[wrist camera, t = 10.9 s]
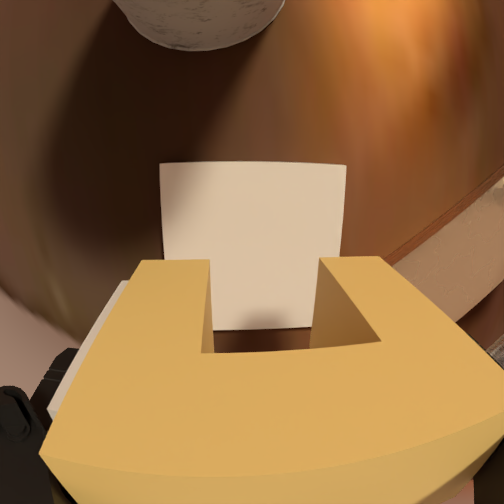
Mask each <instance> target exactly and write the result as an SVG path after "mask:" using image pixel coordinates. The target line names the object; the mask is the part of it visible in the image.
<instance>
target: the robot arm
mask: <svg viewBox="0 0 504 504" xmlns="http://www.w3.org/2000/svg"><path fill="white" fill-rule="evenodd" d="M128 282H129V281H121V283H120V284H119V286H118V287H117V289H116V291H115V292H114V294H113V295H112V297H111V298H110V300H109V301H108V303H107V305H106V306H105V308H104V309H103V311H102V313H101V314H100V316H99V317H98V319H97V321H96V322H95V324H94V326H93V327H92V329H91V331H90V332H89V334H88V336H87V337H86V339H85V341H84V342H83V344H82V346H81V347H80V349H75V348H67V349H66V350H64V351H63V352H62V353H61V354H59V355H58V356H57V357H56V358H55V360H54V361H53V363H52V364H51V366H50V367H49V370H48V371H47V372H46V374H45V375H44V379H43V380H41V382H40V384H39V386H38V387H37V389H36V390H35V392H34V394H33V396H32V397H31V399H30V401H29V399H28V397H27V395H26V394H25V392H24V391H23V390H21V388H18V387H15V386H2V387H0V504H78V503H77V502H76V501H75V500H74V498H73V497H72V496H71V495H70V494H69V493H68V491H67V490H66V489H65V488H64V486H63V485H62V484H61V483H60V482H59V480H58V479H57V478H56V476H55V475H54V474H53V473H52V471H51V470H50V469H49V467H48V466H47V464H46V463H45V462H44V460H43V459H42V458H41V456H40V455H39V451H40V449H41V447H42V444H43V442H44V440H45V438H46V435H47V433H48V431H49V429H50V427H51V424H52V422H53V420H54V418H55V416H56V414H57V412H58V409H59V407H60V405H61V403H62V401H63V399H64V397H65V395H66V393H67V391H68V389H69V387H70V385H71V383H72V381H73V379H74V377H75V375H76V373H77V371H78V370H79V368H80V366H81V364H82V362H83V360H84V358H85V356H86V354H87V353H88V351H89V349H90V347H91V345H92V343H93V342H94V340H95V338H96V336H97V334H98V333H99V331H100V329H101V327H102V326H103V324H104V322H105V320H106V319H107V317H108V315H109V313H110V312H111V310H112V308H113V307H114V305H115V303H116V302H117V300H118V298H119V297H120V295H121V293H122V292H123V290H124V288H125V287H126V285H127V283H128ZM466 334H467V333H466ZM467 335H468V336H469V337H470V338H472V339H473V340H474V341H475V342H476V343H477V344H478V345H479V343H478V342H477V341H476V340H475V339H474V338H473V337H471V336H470V335H469V334H467ZM479 346H480V347H481V348H482V349H483V350H484V351H485V349H484V348H483V347H482V346H481V345H479ZM485 352H486V351H485ZM486 353H487V354H488V355H489V356H490V357H491V358H492V359H493V360H494V361H495V362H496V363H497V364H498V365H499V366H500V367H501V368H502V369H503V370H504V368H503V367H502V366H501V365H500V364H499V363H498V362H497V361H496V360H495V359H494V358H493V357H492V356H491V355H490V354H489V353H488V352H486ZM473 480H474V504H504V438H503V439H502V441H501V442H500V443H499V445H498V446H497V448H496V449H495V450H494V452H493V453H492V454H491V455H490V457H489V458H488V459H487V461H486V462H485V463H484V464H483V466H482V467H481V468H480V469H479V470H478V472H477V473H476V474H475V475H474V476H473Z"/></svg>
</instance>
